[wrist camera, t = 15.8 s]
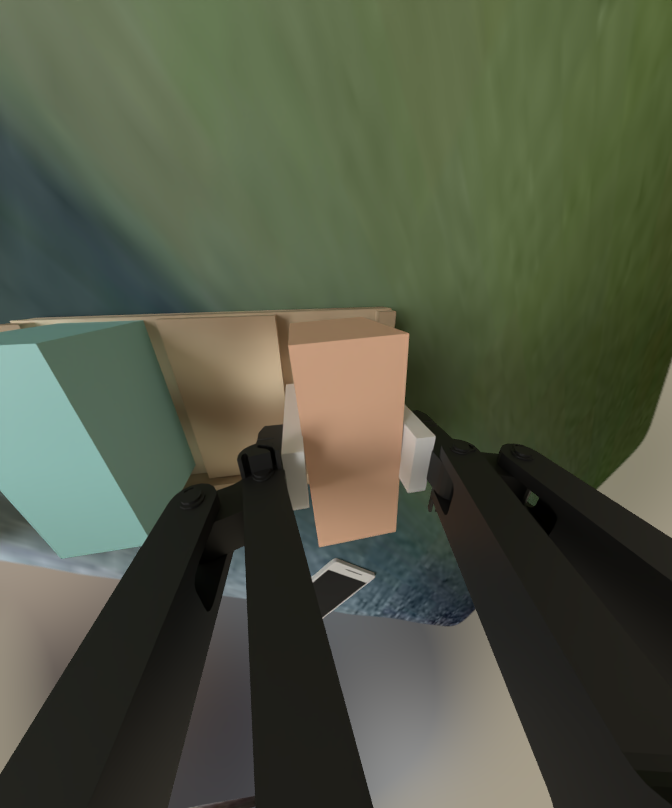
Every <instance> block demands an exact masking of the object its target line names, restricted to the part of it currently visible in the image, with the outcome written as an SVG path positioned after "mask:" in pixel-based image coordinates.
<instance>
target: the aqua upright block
mask: <svg viewBox="0 0 672 808" xmlns="http://www.w3.org/2000/svg"><path fill="white" fill-rule="evenodd" d="M195 466H196V464H195V461H194V458H193V456H192V453H191V450H190V448H189V445H188V442H187V439H186V437H185V434H184V431H183V428H182V426H181V423H180V420H179V417H178V415H177V412H176V409H175V406H174V404H173V401H172V398H171V395H170V393H169V390H168V387H167V384H166V382H165V379H164V376H163V373H162V371H161V368H160V365H159V362H158V360H157V357H156V354H155V351H154V349H153V346H152V343H151V340H150V338H149V335H148V332H147V329H146V327H145V324H144V321H143V320H136V321H108V322H81V323H57V324H50V325H44V326H37V327H30V328H24V329H17V330H11V331H4V332H0V491H1V492H2V493H3V494H4V495H5V497H6V498H7V499H8V500H9V501H10V502H11V503H12V504H13V506H14V507H15V508H16V509H17V510H18V511H19V512H20V513H21V514H22V516H23V517H24V518H25V519H26V520H27V521H28V522H29V523H30V525H31V526H32V527H33V528H34V529H35V530H36V531H37V532H38V533H39V535H40V536H41V537H42V538H43V539H44V540H45V541H46V542H47V544H48V545H49V546H50V547H51V548H52V549H53V550H54V551H55V552H56V554H57V555H58V556H59V557H60V558H61V559H63V558H69V557H76V556H82V555H88V554H95V553H101V552H108V551H114V550H120V549H127V548H133V547H139V546H142V545H143V543H144V542H145V540H146V538H147V537H148V535H149V533H150V532H151V530H152V529H153V527H154V525H155V524H156V522H157V521H158V519H159V517H160V516H161V514H162V513H163V511H164V509H165V508H166V506H167V504H168V503H169V501H170V500H171V499H172V498H173V497H174V496H175V495H176V494H177V493H179V492H180V491H181V490H182V489H183V488H184V486H185V484H186V482H187V480H188V478H189V477H190V475H191V473H192V471H193V469H194V467H195Z"/></svg>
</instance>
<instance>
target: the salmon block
mask: <svg viewBox="0 0 672 808" xmlns="http://www.w3.org/2000/svg"><path fill="white" fill-rule="evenodd" d="M408 345H409V333H407V332H404V331H401V330H398V329H395V328H393V327H390V326H387V325H384V324H381V323H378V322H376V321H373V320H370V319H367V318H364V317H353V318H342V319H330V320H319V321H308V322H297V323H290V328H289V340H288V348H289V355H290V361H291V368H292V374H293V381H294V387H295V394H296V400H297V407H298V413H299V419H300V426H301V432H302V436H303V444H304V452H305V458H306V465H307V471H308V478H309V484H310V491H311V497H312V504H313V510H314V516H315V523H316V529H317V536H318V542H319V547H323V546H328V545H332V544H337V543H342V542H347V541H352V540H357V539H362V538H366V537H371V536H376V535H381V534H386V533H391V532H396V521H397V506H398V491H399V470H400V462H401V447H402V433H403V418H404V403H405V389H406V374H407V360H408Z"/></svg>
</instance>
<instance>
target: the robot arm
mask: <svg viewBox="0 0 672 808" xmlns="http://www.w3.org/2000/svg"><path fill="white" fill-rule="evenodd" d="M237 462H238V466H239V470H240V474H241V478H242V480H240V481H238V482H237V483H235V484H233V485H230V486H228V487H225V488H222V489H220V490H217V491H216V489H215V487H214V486H212V485H210V484H205V483H200V484H196V485H192V486H189V487H187V488H185V489H183V490H181V491H180V492H179V493H177V494H176V495H175V496H174V497H173V498H172V499H171V500H170V501H169V503H168V504H167V506H166V508H165V509H164V511H163V513H162V514H161V516H160V517H159V519H158V521H157V522H156V524H155V525H154V527H153V529H152V530H151V532H150V533H149V535H148V537H147V538H146V540H145V542H144V543H143V545H142V546H141V548H140V550H139V551H138V553H137V554H136V556H135V558H134V559H133V561H132V563H131V564H130V566H129V567H128V569H127V571H126V572H125V574H124V575H123V577H122V579H121V580H120V582H119V584H118V585H117V587H116V588H115V590H114V592H113V593H112V595H111V597H110V598H109V600H108V601H107V603H106V604H105V606H104V608H103V609H102V611H101V613H100V614H99V616H98V618H97V619H96V621H95V622H94V624H93V626H92V627H91V629H90V630H89V632H88V634H87V635H86V637H85V639H84V640H83V642H82V643H81V645H80V646H79V648H78V650H77V651H76V653H75V655H74V656H73V658H72V659H71V661H70V663H69V664H68V666H67V667H66V669H65V671H64V672H63V674H62V676H61V677H60V679H59V680H58V682H57V684H56V685H55V687H54V688H53V690H52V692H51V693H50V695H49V696H48V698H47V700H46V701H45V703H44V704H43V706H42V708H41V709H40V711H39V713H38V714H37V716H36V717H35V719H34V721H33V722H32V724H31V725H30V727H29V729H28V730H27V732H26V734H25V735H24V737H23V738H22V740H21V742H20V743H19V745H18V747H17V748H16V750H15V751H14V753H13V754H12V756H11V758H10V759H9V761H8V763H7V764H6V766H5V768H4V769H3V771H2V772H1V774H0V808H168V804H169V800H170V796H171V792H172V788H173V784H174V781H175V777H176V773H177V769H178V765H179V761H180V757H181V753H182V749H183V746H184V742H185V738H186V734H187V730H188V726H189V722H190V718H191V715H192V711H193V707H194V703H195V699H196V695H197V691H198V687H199V684H200V679H201V676H202V672H203V668H204V664H205V660H206V656H207V652H208V649H209V645H210V641H211V637H212V633H213V629H214V625H215V621H216V618H217V614H218V610H219V606H220V602H221V598H222V594H223V590H224V586H225V583H226V579H227V575H228V571H229V567H230V563H231V559H232V555H233V552H234V550H236V549H238V548H240V547H243V546H245V566H246V590H247V613H248V636H249V662H250V682H251V683H250V685H251V709H252V731H253V732H252V733H253V755H254V756H253V757H254V781H255V805H256V808H373V805H372V801H371V797H370V794H369V790H368V786H367V783H366V779H365V775H364V771H363V768H362V764H361V760H360V756H359V753H358V749H357V745H356V742H355V738H354V734H353V730H352V727H351V723H350V719H349V716H348V712H347V708H346V704H345V701H344V697H343V694H342V690H341V686H340V682H339V678H338V675H337V671H336V667H335V664H334V660H333V656H332V652H331V649H330V645H329V642H328V638H327V634H326V630H325V627H324V623H323V619H322V615H321V612H320V608H319V604H318V601H317V597H316V593H315V589H314V586H313V582H312V578H311V575H310V571H309V567H308V563H307V560H306V556H305V552H304V549H303V545H302V541H301V537H300V534H299V530H298V526H297V523H296V519H295V515H294V511H293V510H297V509H304V508H309V498H308V485H307V472H306V459H305V452H304V444H303V436H302V432H301V426H300V419H299V413H298V407H297V400H296V394H295V387H294V384H286V392H285V406H284V421H283V424H280V425H270V426H264V427H263V428H262V429H261V430H260V432H259V433H258V438H257V442H256V444H253V445H250V446H248V447H247V448H245V449H243V450H242V451H241V452H240V453H239V454H238V457H237ZM399 478H400V480H401V482H402V483H403V485H404V487H405V489H406V490H407V492H408V493H411V492H418V491H425V488H426V483H427V480H428V482H429V483H430V484H431V486H432V491H431V496H430V500H429V505H428V511H429V512H431V511H432V507H433V504H434V506H435V508H436V509H435V512H437V513H438V516H439V518H440V521H441V523H442V526H443V528H444V531H445V533H446V536H447V538H448V541H449V543H450V546H451V548H452V551H453V553H454V556H455V558H456V561H457V563H458V566H459V568H460V571H461V573H462V576H463V578H464V581H465V583H466V586H467V588H468V591H469V593H470V596H471V598H472V601H473V603H474V606H475V608H476V611H477V613H478V616H479V618H480V621H481V623H482V626H483V628H484V631H485V633H486V636H487V638H488V641H489V643H490V646H491V648H492V651H493V653H494V656H495V658H496V661H497V663H498V666H499V668H500V670H501V673H502V676H503V678H504V681H505V683H506V686H507V688H508V691H509V693H510V696H511V698H512V701H513V703H514V706H515V708H516V711H517V713H518V716H519V718H520V721H521V723H522V726H523V728H524V731H525V733H526V736H527V738H528V741H529V743H530V746H531V748H532V751H533V753H534V756H535V758H536V761H537V763H538V766H539V769H540V771H541V774H542V776H543V778H544V781H545V784H546V786H547V788H548V792H549V794H550V797H551V800H552V803H553V807H554V808H672V538H671V537H669V536H667V535H665V534H664V533H663V532H661V531H660V530H658V529H656V528H655V527H653V526H652V525H650V524H649V523H647V522H646V521H644V520H643V519H641V518H639V517H638V516H636V515H635V514H633V513H632V512H630V511H628V510H627V509H625V508H624V507H622V506H621V505H619V504H618V503H616V502H614V501H613V500H611V499H610V498H608V497H607V496H605V495H604V494H602V493H600V492H599V491H597V490H596V489H594V488H593V487H591V486H590V485H588V484H586V483H585V482H583V481H582V480H580V479H579V478H577V477H576V476H574V475H572V474H571V473H569V472H568V471H566V470H565V469H563V468H562V467H560V466H558V465H557V464H555V463H554V462H552V461H551V460H549V459H548V458H546V457H544V456H543V455H541V454H540V453H538V452H537V451H535V450H533V449H531V448H528V447H526V446H524V445H520V444H519V445H518V444H505V445H502V447H501V449H500V452H499V454H493V453H483V452H480V451H479V450H478V449H477V448H476V447H475V446H474V445H472V444H470V443H468V442H466V441H462V440H457V439H452V438H451V437H450V436H449V435H448V434H447V433H446V432H445V431H443V430H442V429H441V428H440V427H439V426H437V424H436V423H435V422H434V421H432V419H431V418H430V417H429V416H428V415H426V414H424V413H422V412H420V411H418V410H416V411H411V410H410V409H409V408H408V407H407V406H406V405H405V404H404V418H403V433H402V447H401V462H400V470H399ZM531 491H532V492H533V493H535V494H536V495H537V496H538V497H539V500H538V502H537V504H536V505H535V506H533V505H531V504H529V503H528V502H527V499H528V497H529V495H530V493H531Z"/></svg>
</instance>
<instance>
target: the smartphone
mask: <svg viewBox="0 0 672 808" xmlns="http://www.w3.org/2000/svg"><path fill="white" fill-rule="evenodd" d="M374 577H375V575H374V572H371V571H368V570H366V569H363V568H360V567H358V566H355V565H353V564H350V563H347V562H345V561H342V560H340V559H337V558H335V559H333V560H331V561H330V562H329V563H328V564H326V565H325V566H324V567H323V568H322V569H321V570H319V571H318V572H317V573H316V574H315V575H314V576H312V577H311V578H312V582H313V586H314V589H315V593H316V597H317V601H318V604H319V608H320V612H321V615H322V619H323V618H324V617H325V616H326V615H328V614H329V613H330V612H332V611H333V610H334V609H335V608H337V607H338V606H339V605H341V604H342V603H343V602H344V601H346V600H347V599H348V598H349V597H351V596H352V595H353V594H355V593H356V592H357V591H358V590H360V589H361V588H362V587H364V586H365V585H366V584H367V583H369V582H370V581H371V580H372V579H374Z"/></svg>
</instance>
